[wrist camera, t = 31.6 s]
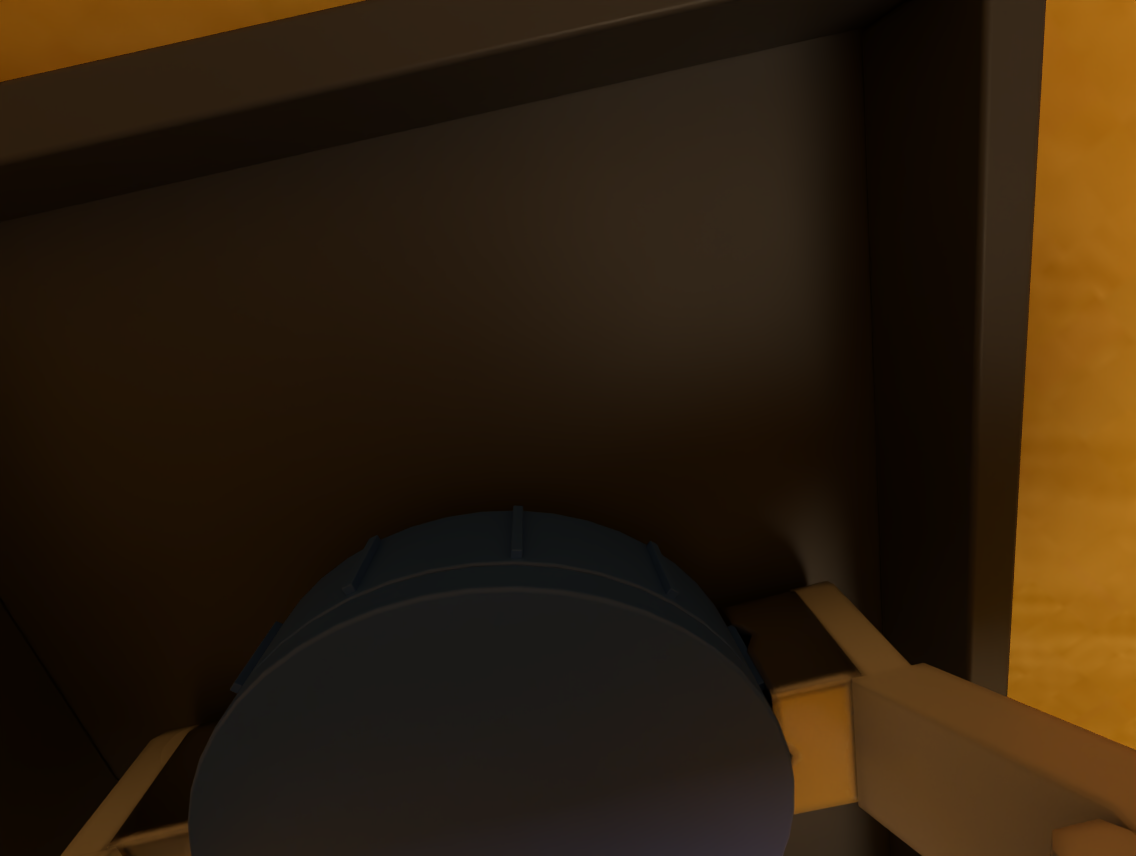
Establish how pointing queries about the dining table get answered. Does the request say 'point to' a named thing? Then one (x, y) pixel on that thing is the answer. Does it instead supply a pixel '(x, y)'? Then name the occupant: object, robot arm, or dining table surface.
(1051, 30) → the dining table surface
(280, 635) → the jar lid
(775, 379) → the tray
